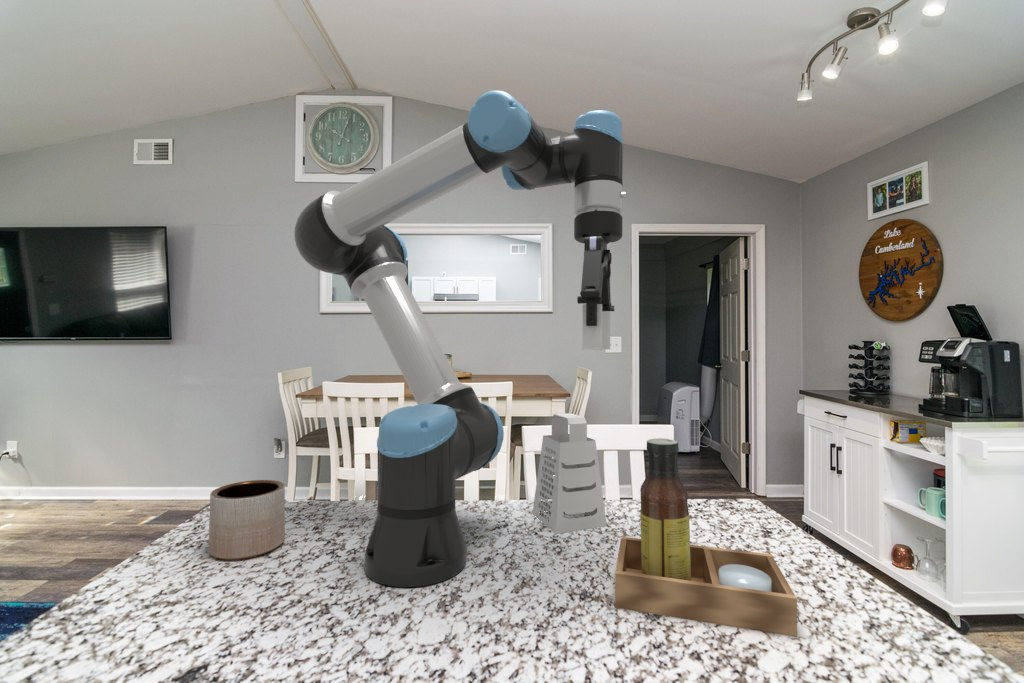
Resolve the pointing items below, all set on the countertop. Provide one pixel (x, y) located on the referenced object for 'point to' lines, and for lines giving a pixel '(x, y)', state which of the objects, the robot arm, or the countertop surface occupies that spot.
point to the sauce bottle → (664, 515)
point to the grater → (569, 477)
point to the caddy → (707, 590)
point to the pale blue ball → (744, 577)
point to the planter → (246, 519)
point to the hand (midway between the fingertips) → (597, 349)
